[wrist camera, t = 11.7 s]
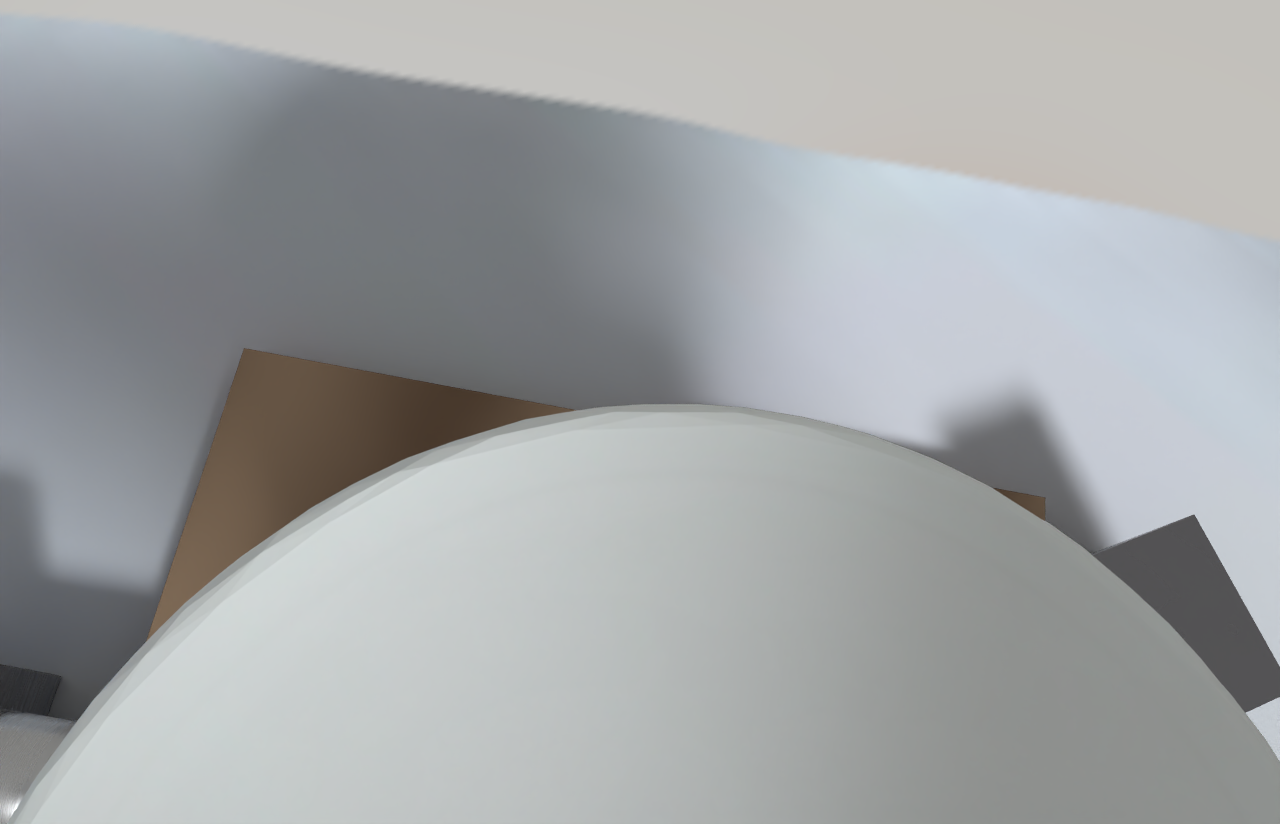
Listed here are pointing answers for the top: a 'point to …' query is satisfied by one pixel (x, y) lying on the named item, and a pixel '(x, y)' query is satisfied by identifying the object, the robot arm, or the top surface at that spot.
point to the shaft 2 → (1199, 605)
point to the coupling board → (322, 452)
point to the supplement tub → (663, 652)
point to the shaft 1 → (25, 732)
